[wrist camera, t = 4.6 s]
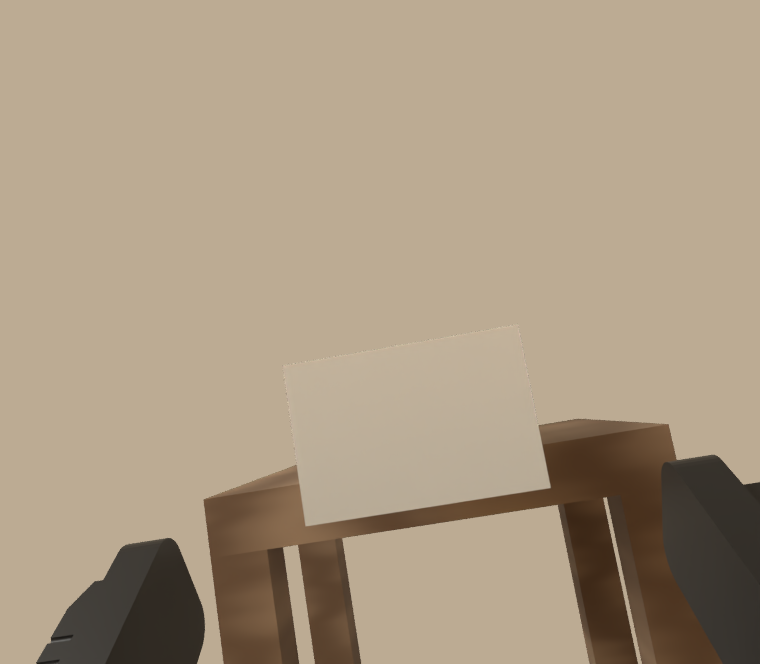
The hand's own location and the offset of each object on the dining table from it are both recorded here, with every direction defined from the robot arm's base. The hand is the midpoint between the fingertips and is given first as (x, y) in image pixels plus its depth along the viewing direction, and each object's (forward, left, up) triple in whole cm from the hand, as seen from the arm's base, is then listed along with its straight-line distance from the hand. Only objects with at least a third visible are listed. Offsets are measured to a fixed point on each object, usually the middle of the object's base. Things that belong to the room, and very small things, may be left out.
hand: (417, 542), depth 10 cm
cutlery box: (0, +14, 0) cm, 14 cm away
